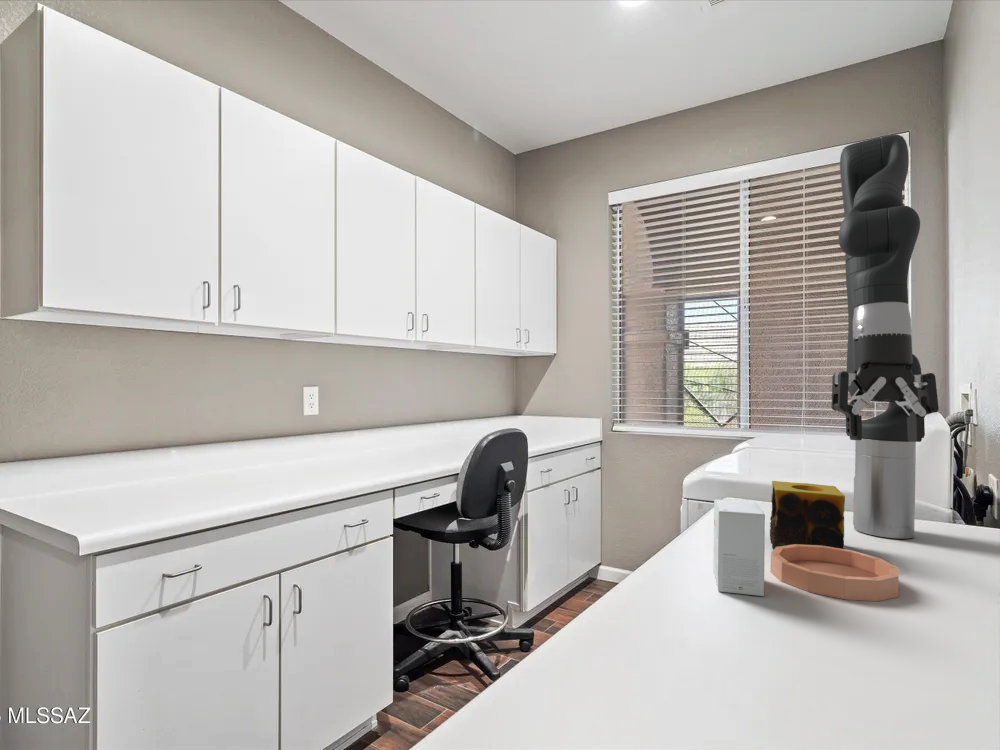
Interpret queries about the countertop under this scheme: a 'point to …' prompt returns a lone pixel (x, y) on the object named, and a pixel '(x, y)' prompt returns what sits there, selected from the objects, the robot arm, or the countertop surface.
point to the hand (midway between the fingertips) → (885, 440)
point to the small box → (739, 547)
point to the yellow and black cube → (806, 515)
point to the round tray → (835, 572)
